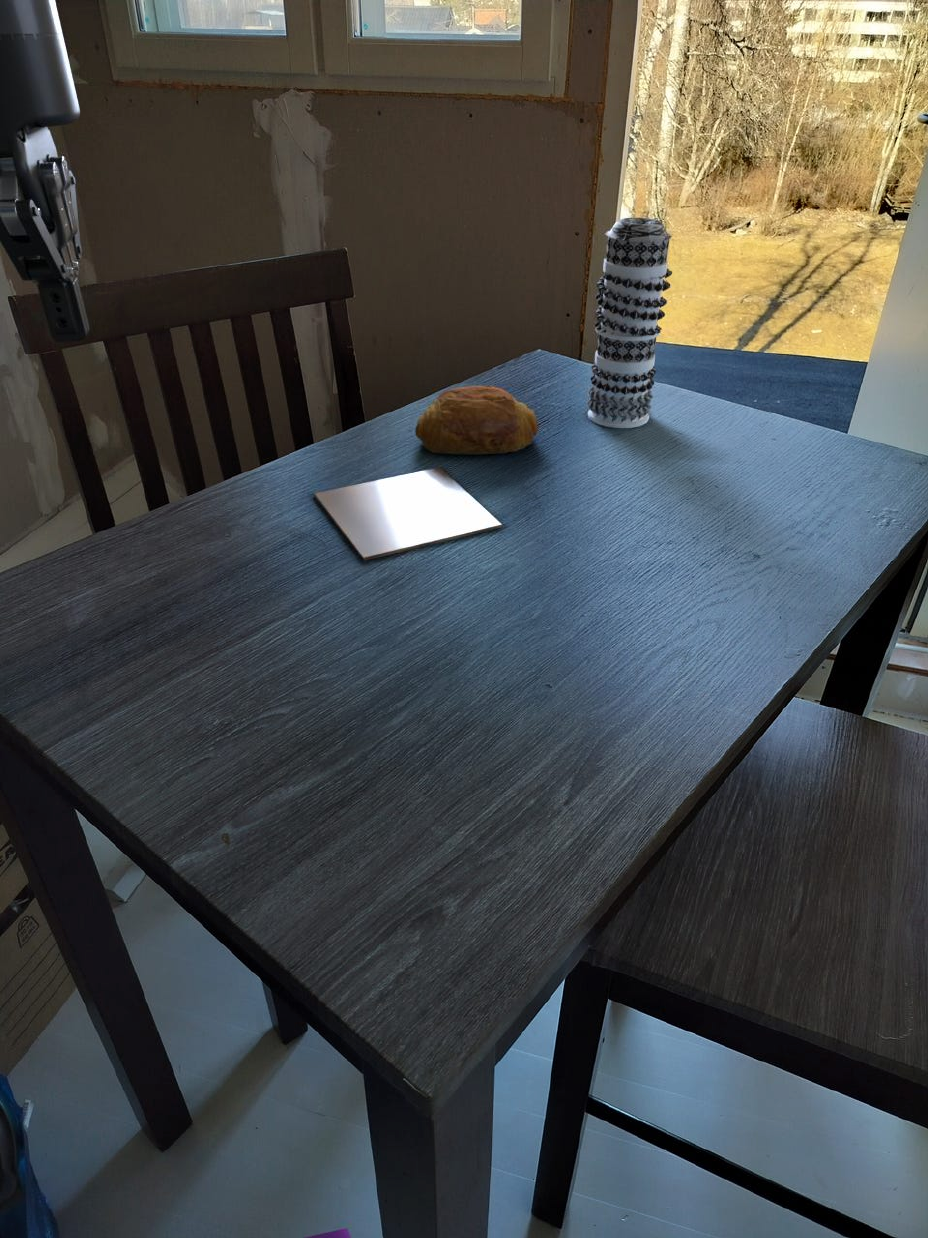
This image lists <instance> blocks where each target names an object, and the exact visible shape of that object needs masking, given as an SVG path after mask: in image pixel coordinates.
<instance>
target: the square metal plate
mask: <svg viewBox="0 0 928 1238" xmlns="http://www.w3.org/2000/svg"><path fill="white" fill-rule="evenodd" d="M313 495H314V497H315V499H316V500H317V501H318V503H319V504H320V505H321V507H322V508H323V509H324V511H325V512H326V514H328V516H329V518H331V520H332V521H333V523H334V524H335V526H336V527H337V528H338V529H339V530H340V532H341V534H343V536H344V537H345V539H346V540H347V541H348V542H349V544H350V546H352V548H353V549H354V550H355V552H356V553H357V554H358V555H359V557H360V558H361V559H362V561H363V562H365V561H371V560H374V559H377V558H381V557H386V556H390V555H394V554H398V553H404V552H407V551H411V550H414V549H415V550H416V549H419V548H423V547H427V546H431V545H437V544H440V543H443V542H448V541H451V540H455V539H460V538H465V537H469V536H473V535H476V534H477V535H478V534H481V533H484V532H485V533H486V532H489V531H494V530H497V529H501V528H503V524H502V523H501V522H500V521H499V520H498V519H497V518H496V517H494V516H493V515H492V514H491V513H490V512H489V511H488V510H487V509H486V508H485V507H484V506H483V505H482V504H480V503H479V502H478V501H477V500H476V499H475V498H474V497H473V496H472V495H471V494H470V493H468V492H467V490H465V489H464V488H463V487H462V486H461V485H460V484H459V483H458V482H456V480H455V479H453V478H452V476H450V475H449V474H448V473H447V472H446V471H445V470H443V469H442V468H441V467H440V466H439V467H435V468H430V469H425V470H420V471H416V472H410V473H405V474H401V475H396V476H391V477H386V478H381V479H377V480H371V481H367V482H362V483H358V484H353V485H348V486H343V487H337V488H334V489H328V490H324V491H318V492H314V494H313Z"/></svg>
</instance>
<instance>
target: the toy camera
mask: <svg viewBox="0 0 928 1238" xmlns="http://www.w3.org/2000/svg"><path fill="white" fill-rule="evenodd" d="M304 1238H352V1236H351V1234H350V1232H349V1230H348V1227H345V1228H341V1229H340V1228H339V1229H337V1230H333V1231H328V1232H327V1231H326V1232H323V1233H319V1234H314V1235H309V1236H306V1237H304Z"/></svg>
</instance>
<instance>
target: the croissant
mask: <svg viewBox="0 0 928 1238" xmlns="http://www.w3.org/2000/svg"><path fill="white" fill-rule="evenodd" d="M416 422H417V423H416V426H415V430H414V432H415V433H414V434H415V437H416V438H417V439H419V440H420V441H421V443H422V445H423V447H424V448H425V449H426V450H428V451H429V452H431V453H435V454H447V455H449V454H450V455H489V454H490V455H492V454H493V455H494V454H506V453H508V452H517V451H519V450H522V449H525V448H526V446H529V445H531V444H532V443H533V441H534V437H536V436H537V434H538V431H539V422H538V418H537V415H536V413H535V410H533V409H530V408H529V407H528V406H527V404H525V403H523V402H521V401H518V400H516V398H515V397H514V396H513V395H512V394H510V393H509V392H508V391H507V390H506V389H505V388H502V387H497V386H493V385H488V384H486V385H467V386H461V387H456V388H455V387H454V388H451V389H449V390H443V391H442V392H441V393H439V395H438V396H437V397H436V399H435V400H433V402H432V403H431V404H430V405H429V406H428V407H427V408H426V409H425V411H424V413H423V414H421V415H420V416H419V418H418V419H417V421H416Z"/></svg>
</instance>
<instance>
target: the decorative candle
mask: <svg viewBox="0 0 928 1238" xmlns="http://www.w3.org/2000/svg"><path fill="white" fill-rule="evenodd" d="M604 235H605V236H606V237H607V244H606V256H605V258H603V268H602V272H603V276H601V277H600V278H599V279H598V282H597V283H596V287H597V291H598V293H597V294H596V295H595V299H596V303H597V305H599V306H598V307H597V309H596V311H595V312H594V314H595V316H596V322H595V323H594V325H593V326H594V327H595V329H594V330H595V331H596V333H597V335H598V339H597V349H596V351H594V352H595V353H594V362H593V364H592V365H591V367H590V368H591V371H592V373H593V375H591V377H590V381H591V384H592V386H591V387H590V388H589V390H588V395H589V399H588V401H587V405H588V408H589V410H588V411H587V416H588V419H589V420H590V421H591V422H593V423H595V424H597V425H600V426H603V427H608V428H614V429H632V428H637V427H641V426H644V425H645V424H647V423H648V421H649V419H650V414H649V413H650V410H651V409H652V405H651V404H650V403H651V402H652V399H653V397H654V395H653V393H652V388H653V386H654V385H655V380H653V378H654V377H655V375H656V373H657V369H656V368H655V360H656V353H655V352H656V344H657V338H658V337H659V336H660V334H662V333H661V332H662V330H663V329H662V327H661V326H659V324H658V321H660V320H663V318H665V316H666V313H665V312H664V310H663V309H662V308H663V307H665V306H666V305H667V304H668V300H667V298H665V297H664V296H663V295H662V292H666V291H667V290H668V289H670V288H671V283H670V282H668V280H667V279H668V278H669V277H671V276H672V274H673V270H670V269H669V268H668V263H669V261H668V253H669V246H670V239H671V238H672V237H673V235H671V233H670V232H668V231H667V230H666V226H665V225H664V223H663V222H662V221H660V220H658V219H655V218H650V217H625V218H621V219H618V220H616V222H615V223H614V224H613V226H612V228H611V229H610V230H607V231H606V232H604Z"/></svg>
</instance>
